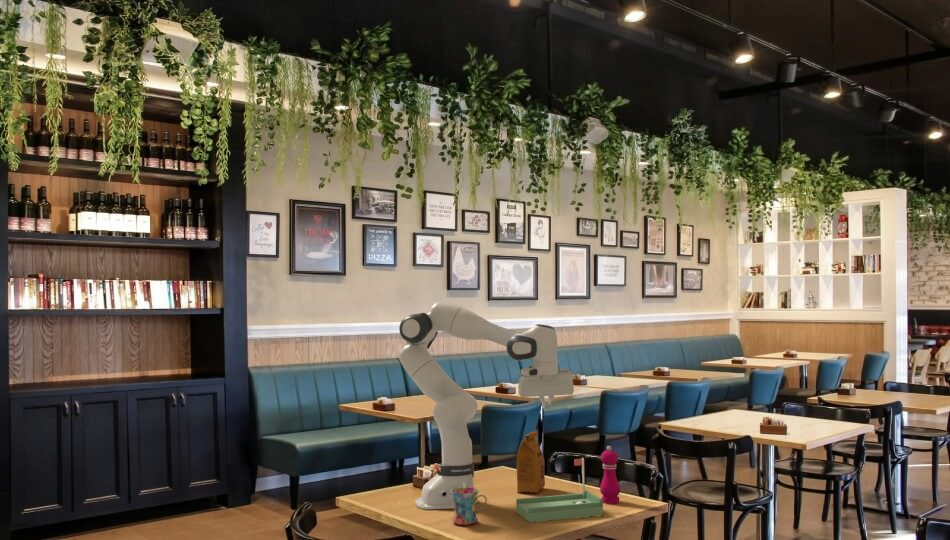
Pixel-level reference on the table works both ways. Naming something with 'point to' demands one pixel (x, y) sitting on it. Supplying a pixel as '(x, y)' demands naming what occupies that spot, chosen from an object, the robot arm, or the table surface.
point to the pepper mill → (609, 477)
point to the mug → (465, 505)
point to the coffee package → (530, 466)
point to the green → (561, 504)
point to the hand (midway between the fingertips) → (546, 408)
